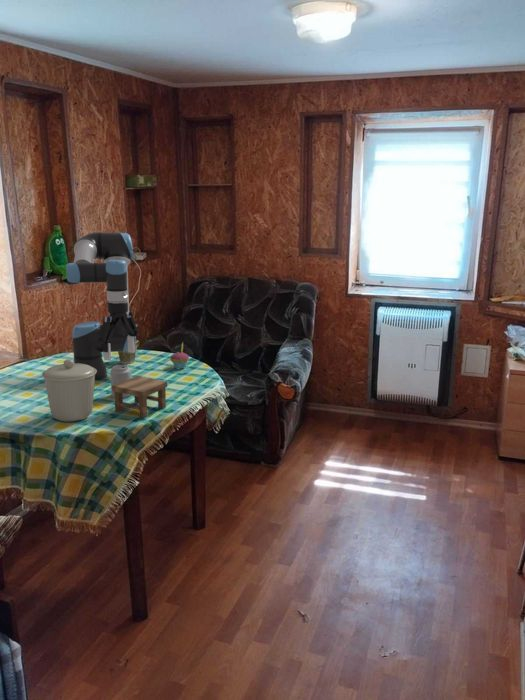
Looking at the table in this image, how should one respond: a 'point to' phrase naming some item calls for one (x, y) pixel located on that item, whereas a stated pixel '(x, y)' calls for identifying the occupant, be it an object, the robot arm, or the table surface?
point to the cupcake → (179, 359)
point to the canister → (70, 390)
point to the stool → (140, 393)
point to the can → (119, 376)
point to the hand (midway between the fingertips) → (119, 356)
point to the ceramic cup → (128, 355)
